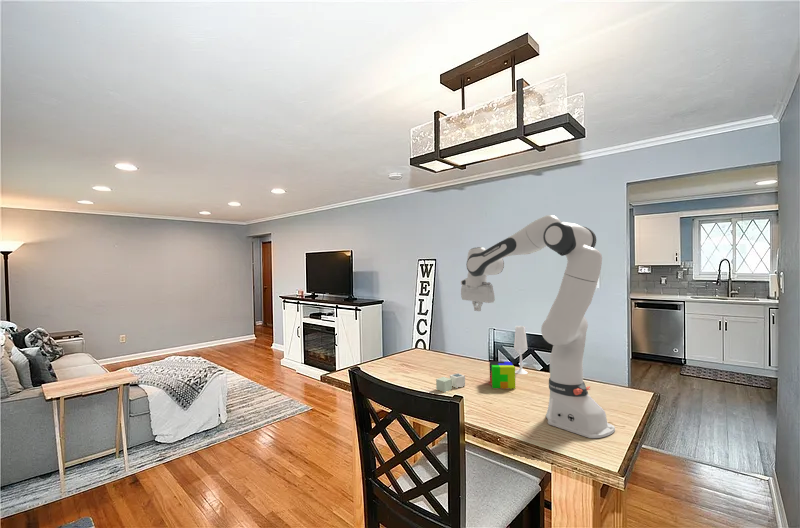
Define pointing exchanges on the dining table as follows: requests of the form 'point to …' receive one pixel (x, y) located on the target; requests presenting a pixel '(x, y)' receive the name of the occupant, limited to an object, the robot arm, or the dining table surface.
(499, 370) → the puzzle toy
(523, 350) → the champagne flute
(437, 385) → the sage block
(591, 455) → the dining table surface
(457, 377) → the letter block
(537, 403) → the dining table surface
